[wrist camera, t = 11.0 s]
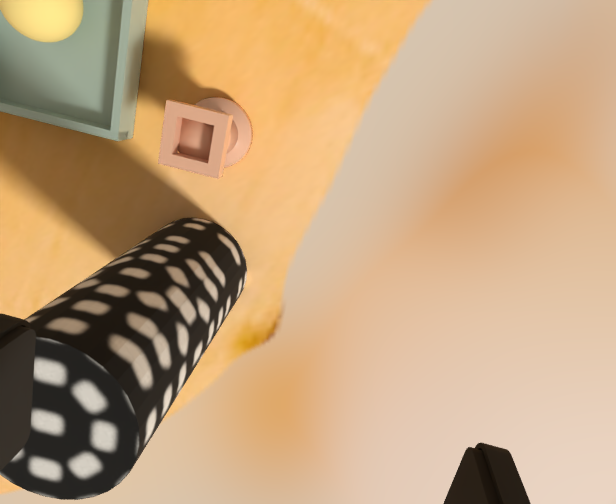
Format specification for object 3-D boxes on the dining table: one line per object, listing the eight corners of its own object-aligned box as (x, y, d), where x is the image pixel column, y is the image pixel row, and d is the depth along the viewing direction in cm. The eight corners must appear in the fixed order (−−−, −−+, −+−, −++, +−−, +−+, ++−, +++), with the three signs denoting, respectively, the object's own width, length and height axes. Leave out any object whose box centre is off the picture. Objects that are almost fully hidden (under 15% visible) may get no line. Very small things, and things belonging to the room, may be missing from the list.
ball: (32, -42, 34) (-25, -62, 29) (101, -26, 34) (54, -43, 29) (30, 36, 36) (-24, 29, 31) (95, 52, 35) (50, 47, 31)
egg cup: (192, 89, 36) (159, 89, 30) (258, 106, 36) (238, 109, 30) (182, 157, 38) (149, 169, 32) (245, 173, 38) (224, 188, 32)
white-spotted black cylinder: (143, 301, 42) (-41, 474, 23) (152, 207, 39) (-47, 315, 20) (238, 324, 42) (131, 518, 23) (254, 230, 39) (148, 362, 20)
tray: (1, -143, 33) (-27, -160, 31) (160, -105, 33) (144, -120, 30) (-5, 103, 38) (-29, 104, 36) (132, 138, 38) (117, 141, 35)
